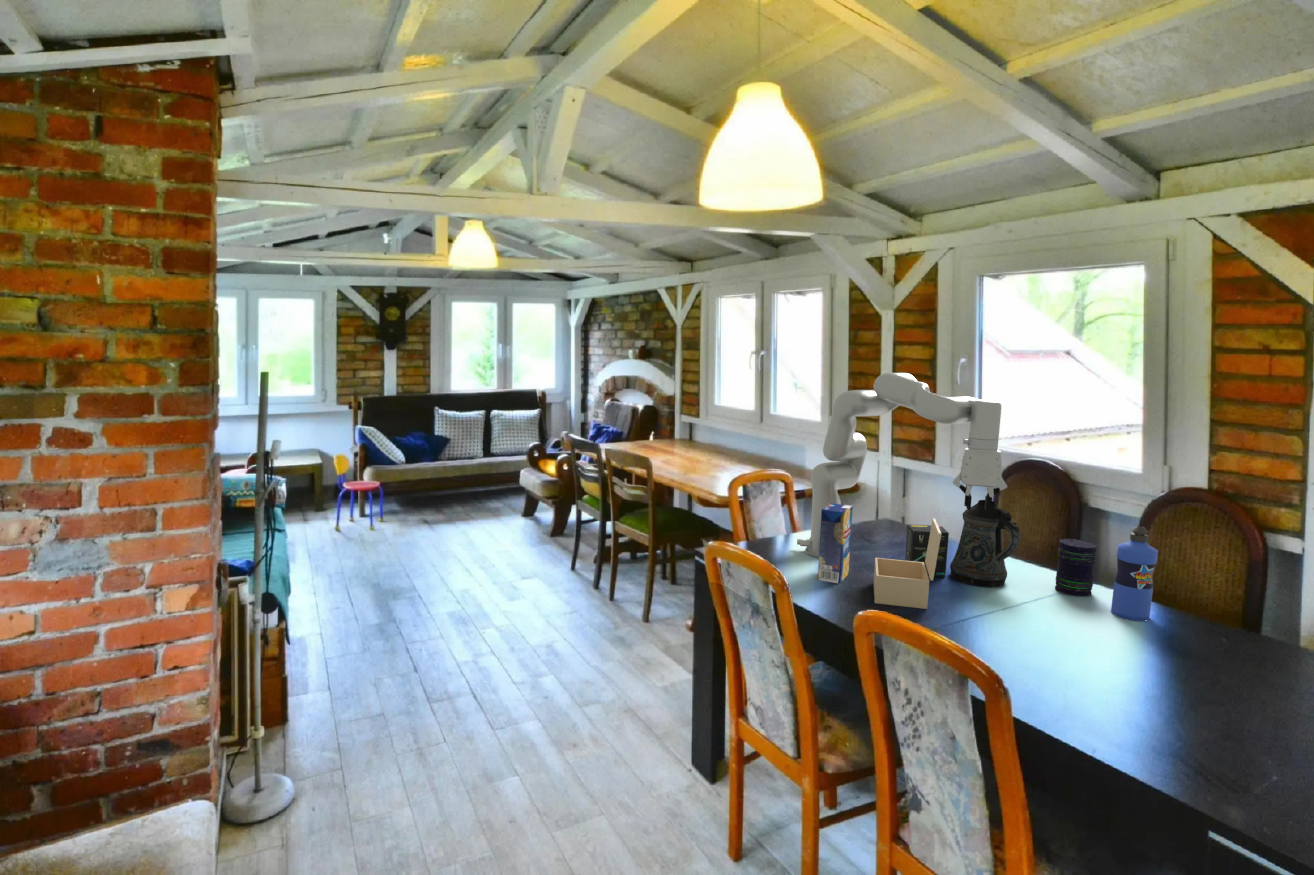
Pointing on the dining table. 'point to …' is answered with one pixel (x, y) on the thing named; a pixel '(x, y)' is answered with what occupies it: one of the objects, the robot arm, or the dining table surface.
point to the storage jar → (1075, 567)
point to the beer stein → (984, 546)
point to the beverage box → (835, 542)
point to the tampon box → (919, 545)
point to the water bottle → (1134, 577)
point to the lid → (933, 548)
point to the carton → (901, 583)
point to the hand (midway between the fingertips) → (977, 509)
